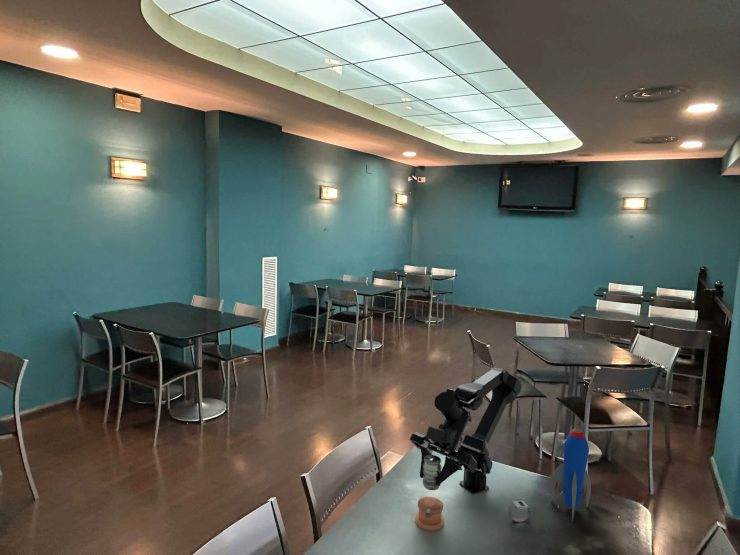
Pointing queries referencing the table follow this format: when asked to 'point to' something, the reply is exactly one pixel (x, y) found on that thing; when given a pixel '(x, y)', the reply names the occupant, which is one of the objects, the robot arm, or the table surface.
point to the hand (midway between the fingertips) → (428, 481)
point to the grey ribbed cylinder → (431, 471)
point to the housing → (430, 514)
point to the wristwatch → (519, 506)
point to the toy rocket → (573, 470)
